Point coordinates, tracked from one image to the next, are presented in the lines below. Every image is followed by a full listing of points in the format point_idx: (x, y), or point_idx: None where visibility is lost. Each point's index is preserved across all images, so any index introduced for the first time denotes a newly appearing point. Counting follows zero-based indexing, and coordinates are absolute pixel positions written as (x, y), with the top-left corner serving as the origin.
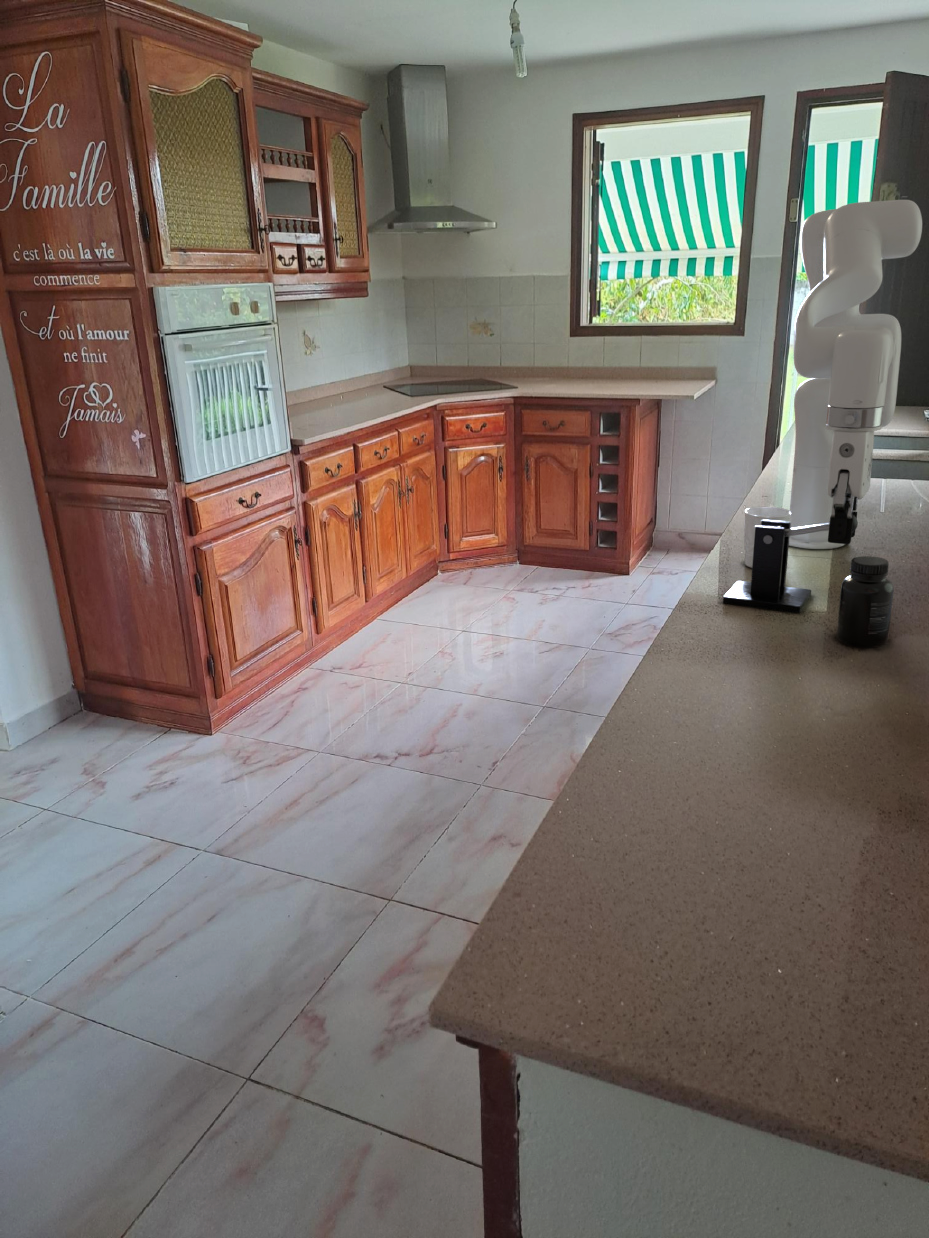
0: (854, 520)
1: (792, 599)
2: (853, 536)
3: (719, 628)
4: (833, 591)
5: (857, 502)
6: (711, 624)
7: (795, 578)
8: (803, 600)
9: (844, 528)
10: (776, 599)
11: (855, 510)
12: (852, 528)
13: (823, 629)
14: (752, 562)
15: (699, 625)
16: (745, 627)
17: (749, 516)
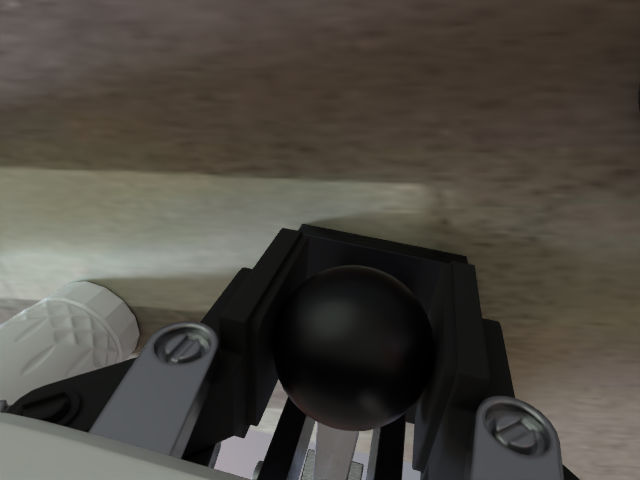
0: (395, 330)
1: (405, 284)
2: (302, 233)
3: (614, 428)
4: (233, 161)
5: (137, 363)
6: (583, 440)
7: (165, 255)
8: (406, 256)
9: (505, 370)
10: None
11: (216, 335)
12: (420, 303)
13: (609, 195)
14: (129, 353)
15: (593, 460)
16: (602, 379)
17: None
